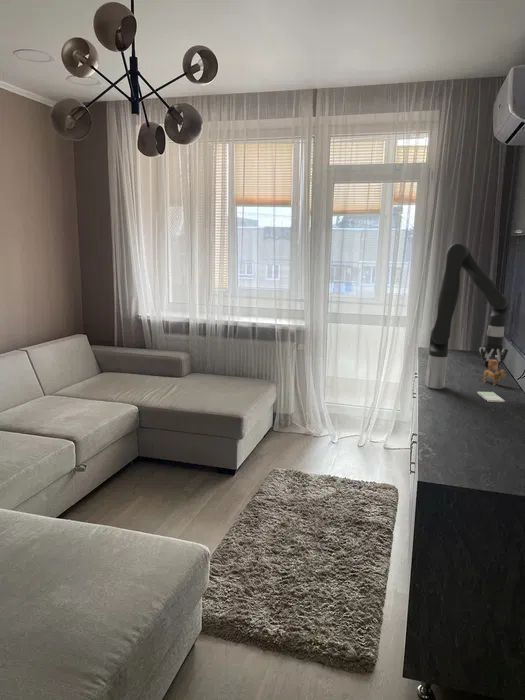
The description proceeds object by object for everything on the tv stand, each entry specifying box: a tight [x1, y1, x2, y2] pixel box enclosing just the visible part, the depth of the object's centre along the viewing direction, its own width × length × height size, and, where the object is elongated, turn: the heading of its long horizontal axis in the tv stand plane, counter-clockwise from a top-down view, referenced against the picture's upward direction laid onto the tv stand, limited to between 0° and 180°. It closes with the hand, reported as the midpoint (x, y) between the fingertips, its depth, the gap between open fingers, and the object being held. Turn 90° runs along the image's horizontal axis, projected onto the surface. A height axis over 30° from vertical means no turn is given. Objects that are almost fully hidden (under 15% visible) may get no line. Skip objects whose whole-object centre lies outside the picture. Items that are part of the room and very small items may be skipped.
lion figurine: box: [479, 369, 507, 386], centre depth 278 cm, size 15×5×9 cm, turn 36°
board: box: [476, 391, 506, 403], centre depth 253 cm, size 8×14×1 cm, turn 178°
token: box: [485, 358, 499, 371], centre depth 253 cm, size 4×4×4 cm
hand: (491, 368), depth 253 cm, fingers closed on token, 4 cm apart
